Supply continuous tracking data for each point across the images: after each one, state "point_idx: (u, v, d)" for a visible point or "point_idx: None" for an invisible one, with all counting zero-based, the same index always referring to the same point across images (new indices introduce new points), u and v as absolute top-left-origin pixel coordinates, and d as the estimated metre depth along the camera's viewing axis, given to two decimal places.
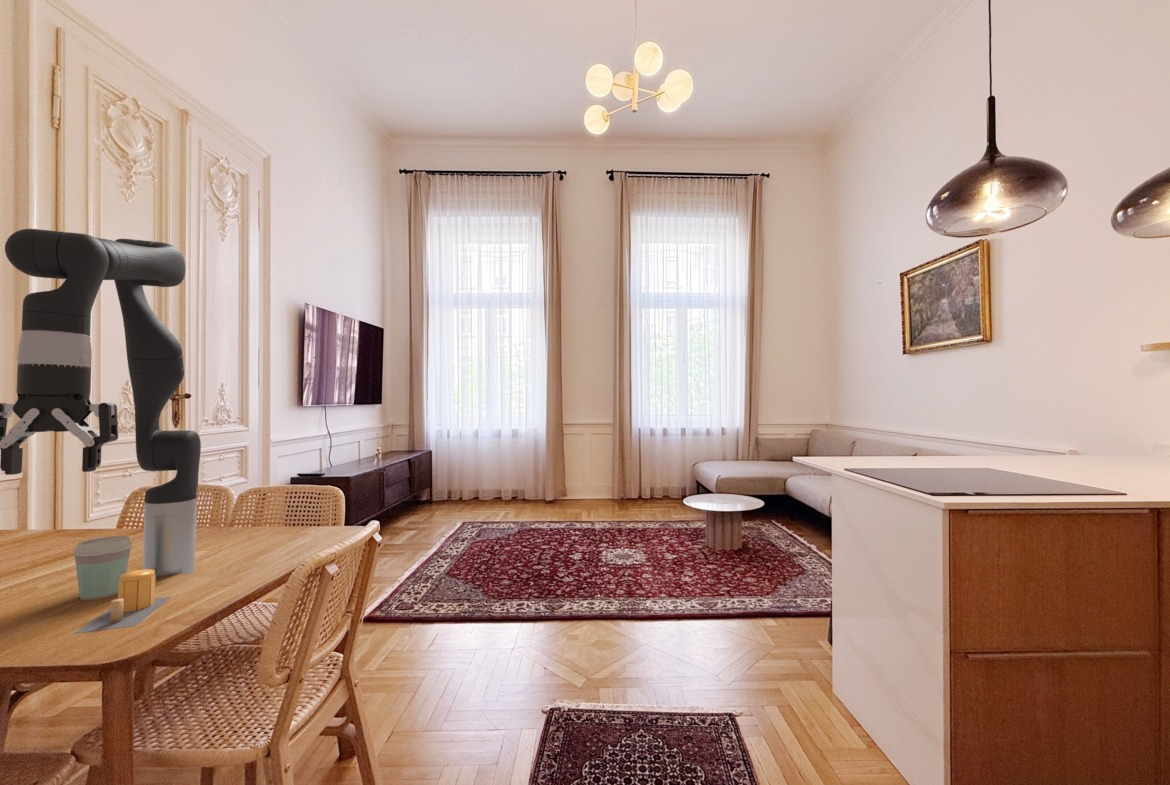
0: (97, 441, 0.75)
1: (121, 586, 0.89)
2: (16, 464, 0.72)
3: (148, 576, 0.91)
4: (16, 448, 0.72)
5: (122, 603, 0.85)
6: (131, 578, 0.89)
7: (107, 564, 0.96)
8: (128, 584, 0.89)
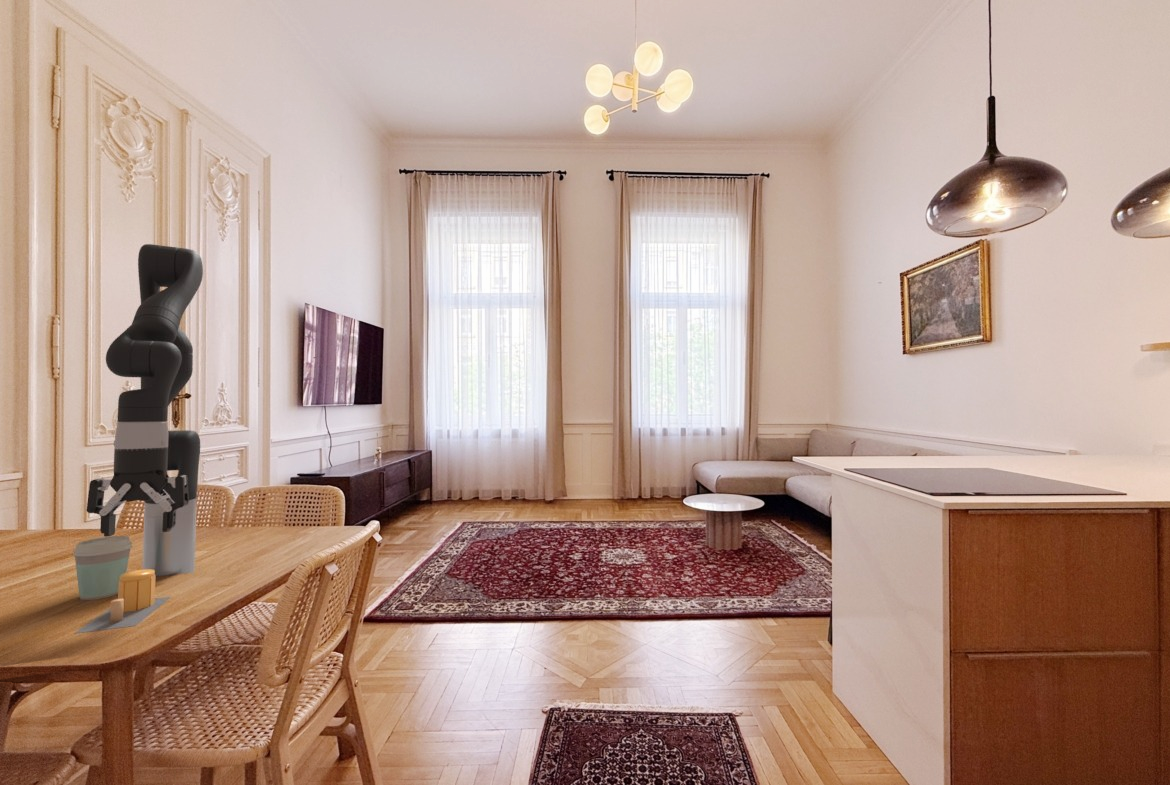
0: (173, 507, 0.93)
1: (121, 586, 0.89)
2: (112, 527, 0.91)
3: (148, 576, 0.91)
4: (112, 515, 0.91)
5: (122, 603, 0.85)
6: (131, 578, 0.89)
7: (107, 564, 0.96)
8: (128, 584, 0.89)
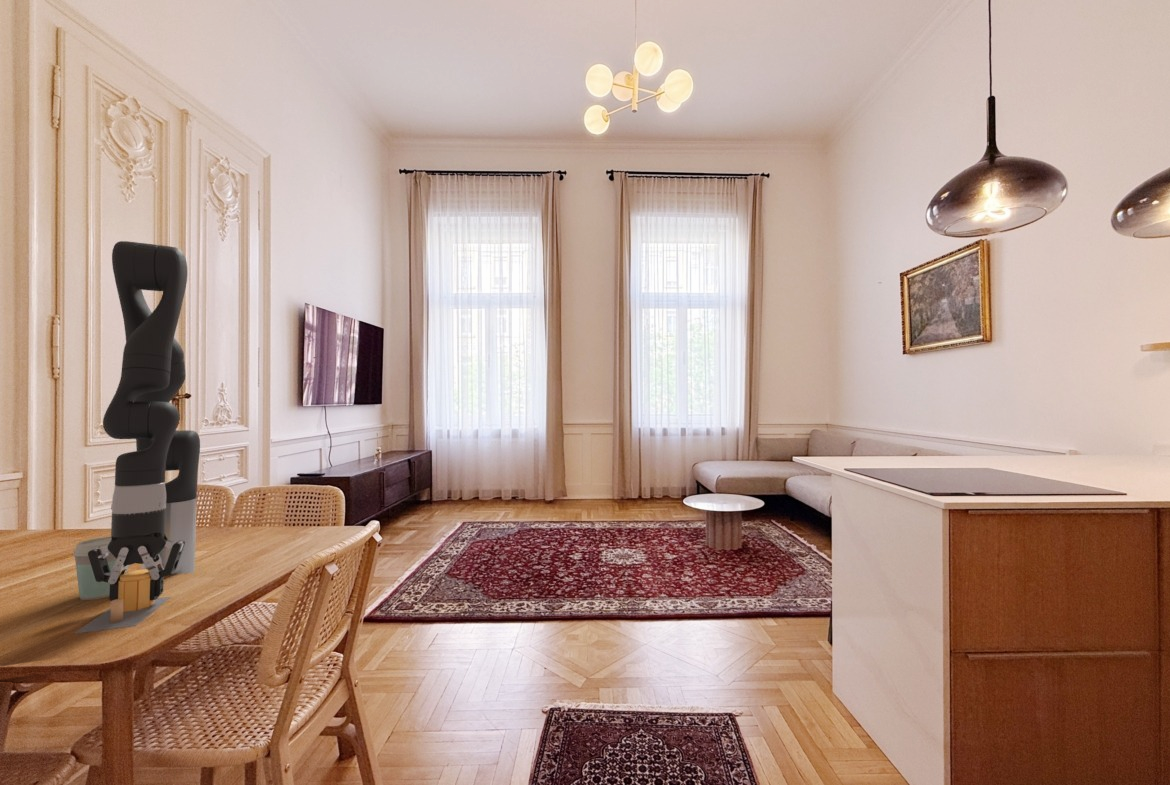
0: (161, 574, 0.92)
1: (121, 586, 0.89)
2: None
3: (148, 576, 0.91)
4: None
5: (122, 603, 0.85)
6: (131, 578, 0.89)
7: None
8: (128, 584, 0.89)
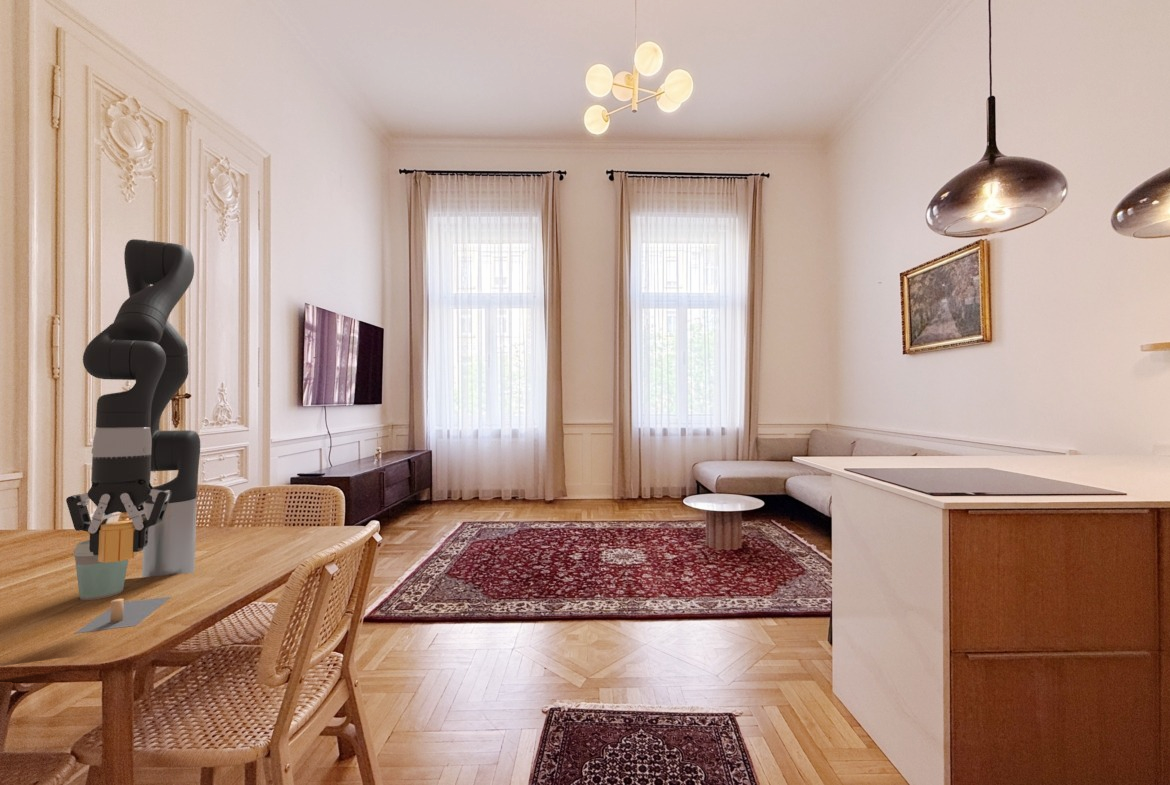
0: (145, 525, 0.86)
1: (102, 535, 0.83)
2: None
3: (131, 526, 0.85)
4: None
5: (122, 603, 0.85)
6: (113, 527, 0.83)
7: (107, 564, 0.96)
8: (109, 533, 0.83)
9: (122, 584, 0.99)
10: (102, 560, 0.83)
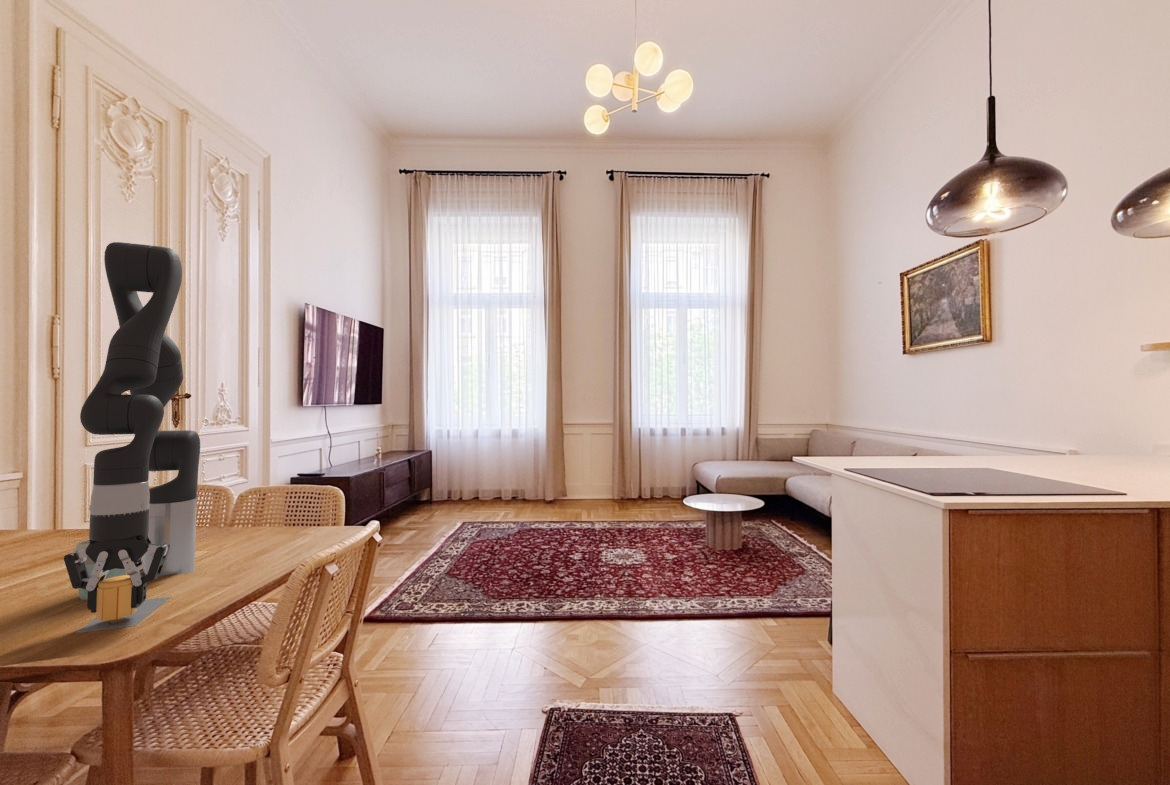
0: (143, 580, 0.86)
1: (100, 593, 0.83)
2: None
3: (129, 582, 0.85)
4: None
5: None
6: (111, 585, 0.83)
7: None
8: (107, 591, 0.83)
9: None
10: (100, 618, 0.82)
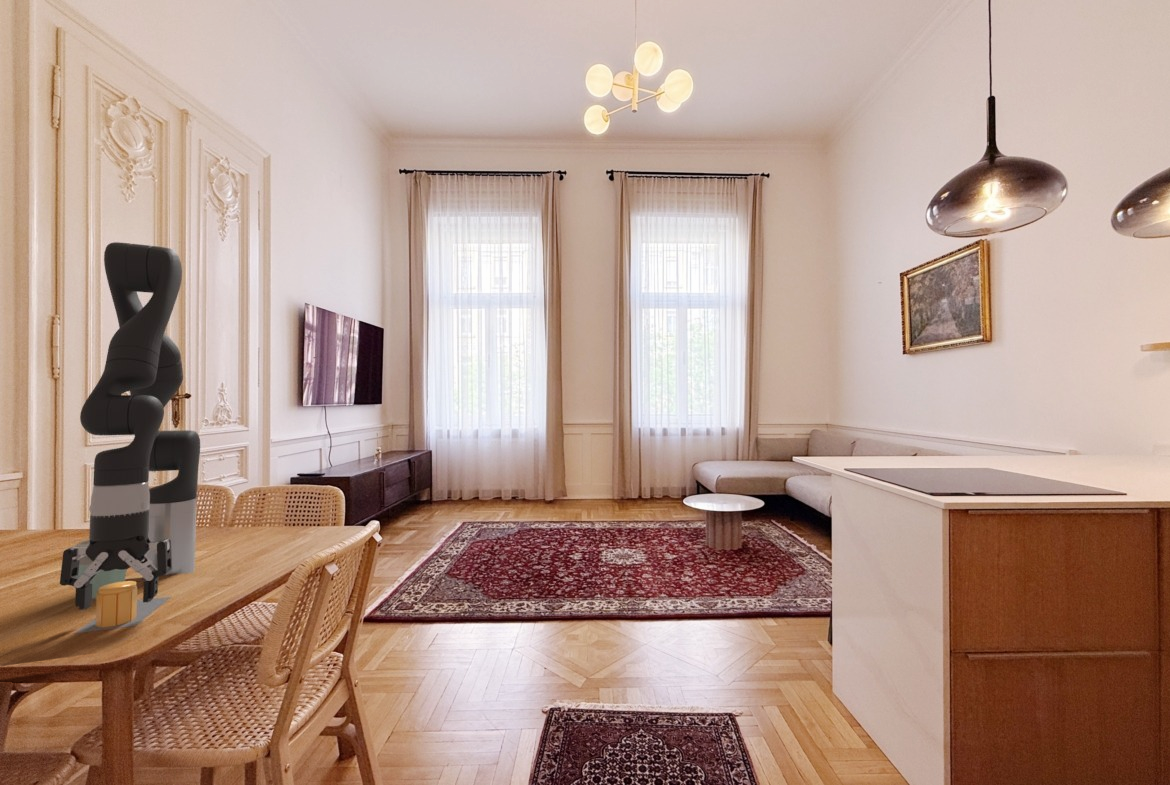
0: (155, 575, 0.87)
1: (99, 600, 0.83)
2: (88, 599, 0.84)
3: (129, 589, 0.85)
4: (88, 585, 0.84)
5: None
6: (110, 591, 0.83)
7: None
8: (106, 598, 0.83)
9: None
10: (99, 625, 0.82)
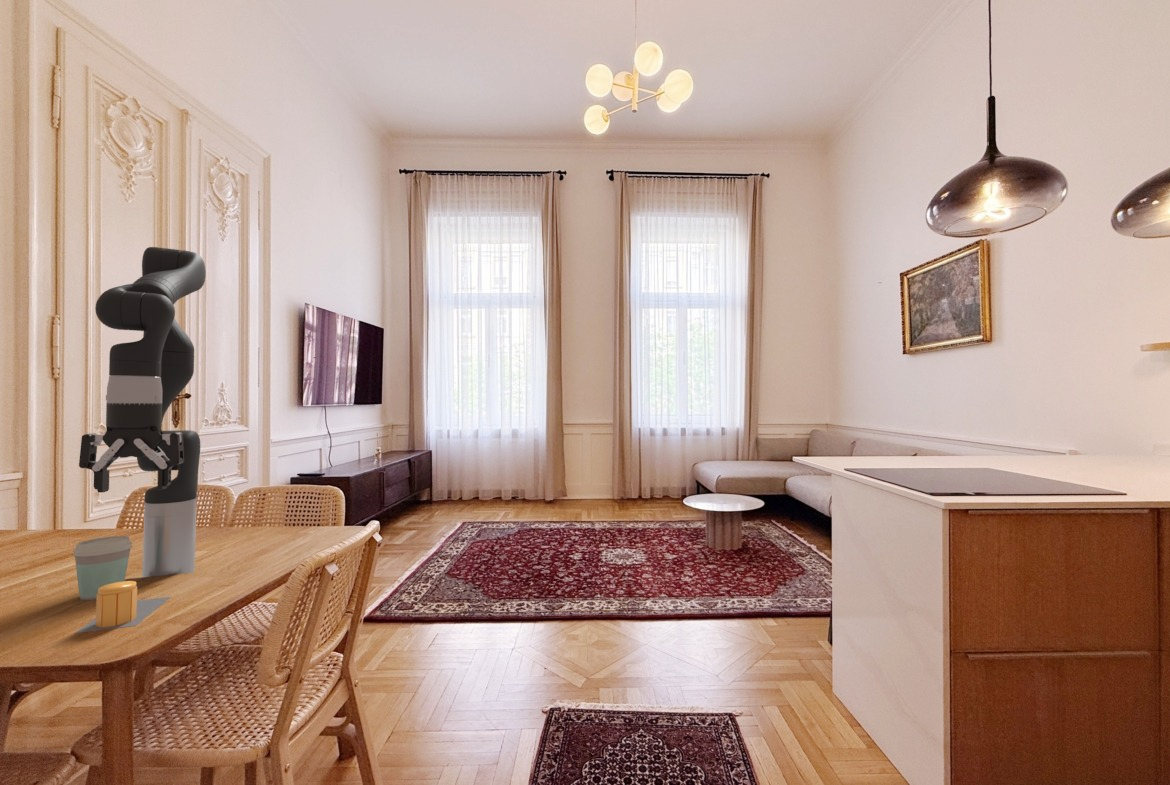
0: (169, 464, 0.91)
1: (99, 600, 0.83)
2: (105, 483, 0.88)
3: (129, 589, 0.85)
4: (105, 470, 0.88)
5: None
6: (110, 591, 0.83)
7: (107, 564, 0.96)
8: (106, 598, 0.83)
9: None
10: (99, 625, 0.82)
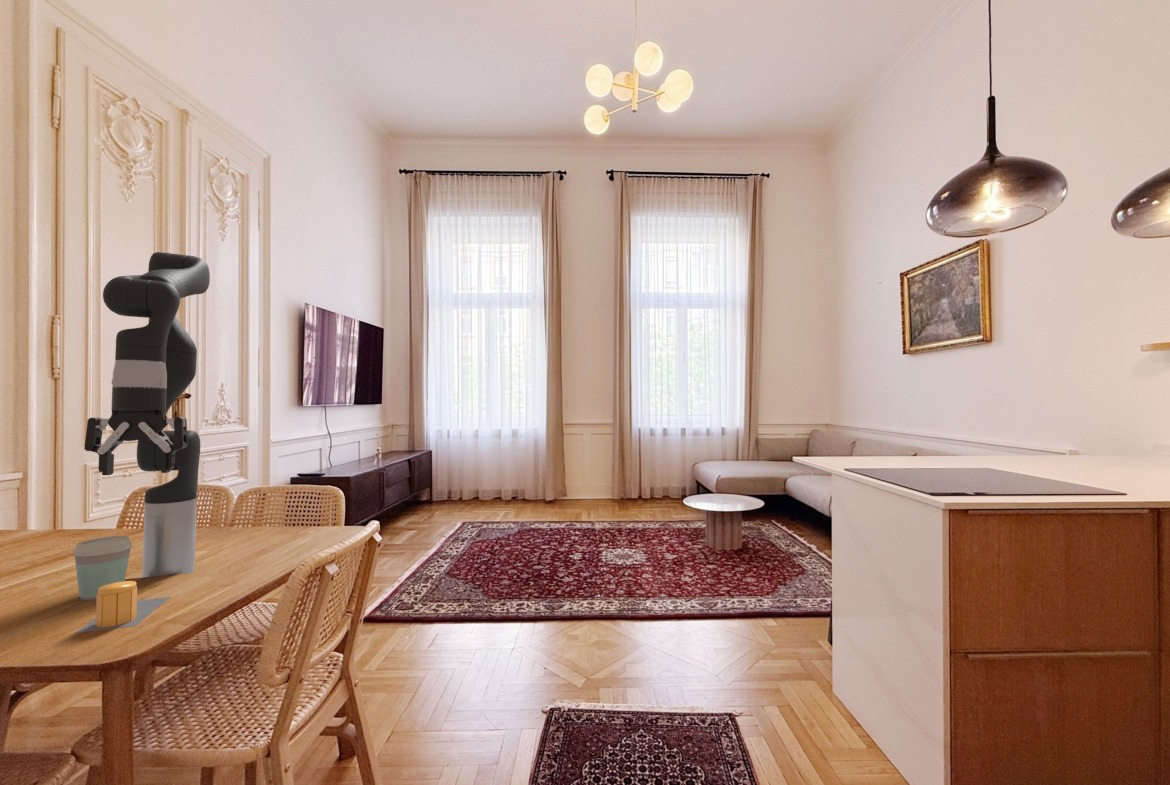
0: (172, 448, 0.93)
1: (99, 600, 0.83)
2: (110, 467, 0.90)
3: (129, 589, 0.85)
4: (110, 454, 0.90)
5: None
6: (110, 591, 0.83)
7: (107, 564, 0.96)
8: (106, 598, 0.83)
9: None
10: (99, 625, 0.82)
